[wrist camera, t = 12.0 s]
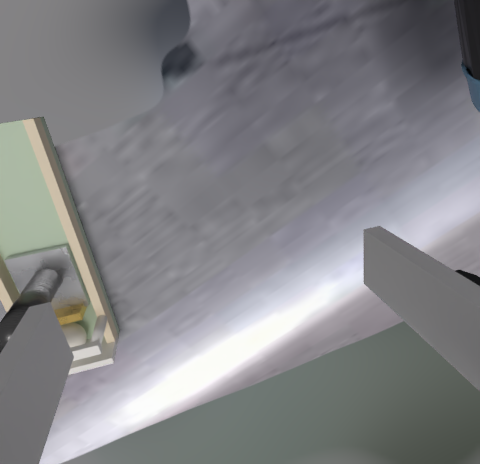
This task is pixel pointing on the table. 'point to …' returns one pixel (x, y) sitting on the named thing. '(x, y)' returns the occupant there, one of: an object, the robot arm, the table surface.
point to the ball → (74, 334)
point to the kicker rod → (45, 287)
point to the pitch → (49, 230)
